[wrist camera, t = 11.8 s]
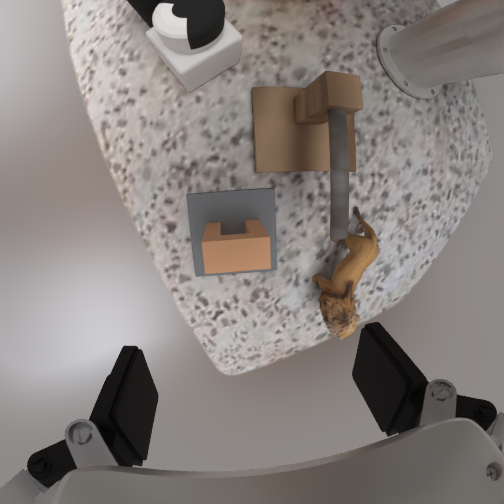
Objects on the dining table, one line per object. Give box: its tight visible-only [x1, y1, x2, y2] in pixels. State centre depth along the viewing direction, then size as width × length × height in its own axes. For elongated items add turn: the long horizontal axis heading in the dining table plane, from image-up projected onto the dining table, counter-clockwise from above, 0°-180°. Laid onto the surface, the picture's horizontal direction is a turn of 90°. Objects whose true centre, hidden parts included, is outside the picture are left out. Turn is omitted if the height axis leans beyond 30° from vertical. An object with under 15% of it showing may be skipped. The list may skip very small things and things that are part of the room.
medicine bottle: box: [146, 0, 243, 92], centre depth 20 cm, size 7×7×12 cm
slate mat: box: [187, 188, 277, 277], centre depth 32 cm, size 10×10×1 cm
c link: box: [202, 219, 271, 274], centre depth 28 cm, size 6×3×8 cm, turn 93°
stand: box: [251, 71, 363, 239], centre depth 24 cm, size 12×16×12 cm
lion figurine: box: [312, 207, 379, 339], centre depth 31 cm, size 15×5×9 cm, turn 165°
